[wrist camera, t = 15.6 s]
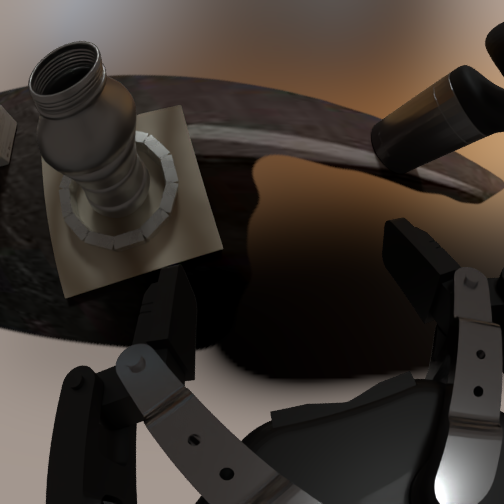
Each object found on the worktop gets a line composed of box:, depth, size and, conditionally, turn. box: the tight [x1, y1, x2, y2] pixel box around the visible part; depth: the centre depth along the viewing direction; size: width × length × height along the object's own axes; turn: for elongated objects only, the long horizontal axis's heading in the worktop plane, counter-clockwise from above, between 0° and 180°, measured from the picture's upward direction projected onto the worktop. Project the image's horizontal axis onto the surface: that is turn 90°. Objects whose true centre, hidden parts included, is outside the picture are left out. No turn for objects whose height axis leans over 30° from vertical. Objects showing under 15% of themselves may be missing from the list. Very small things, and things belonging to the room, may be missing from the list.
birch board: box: [42, 105, 223, 298], centre depth 28 cm, size 18×18×1 cm
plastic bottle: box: [28, 41, 150, 218], centre depth 18 cm, size 6×7×20 cm
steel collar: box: [59, 131, 179, 252], centre depth 26 cm, size 12×12×2 cm
